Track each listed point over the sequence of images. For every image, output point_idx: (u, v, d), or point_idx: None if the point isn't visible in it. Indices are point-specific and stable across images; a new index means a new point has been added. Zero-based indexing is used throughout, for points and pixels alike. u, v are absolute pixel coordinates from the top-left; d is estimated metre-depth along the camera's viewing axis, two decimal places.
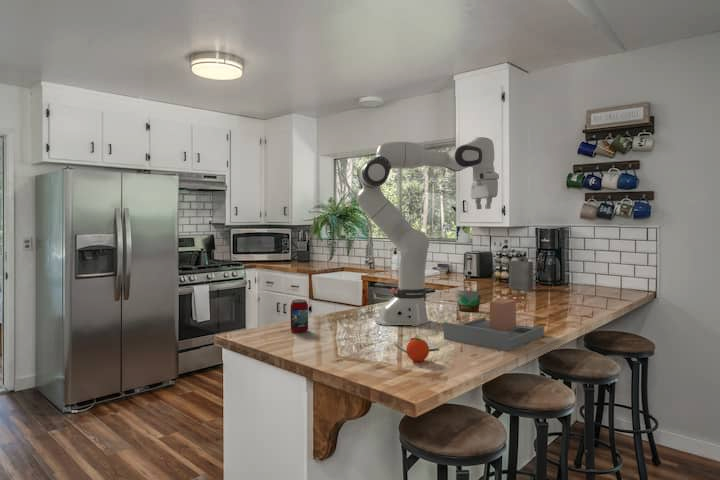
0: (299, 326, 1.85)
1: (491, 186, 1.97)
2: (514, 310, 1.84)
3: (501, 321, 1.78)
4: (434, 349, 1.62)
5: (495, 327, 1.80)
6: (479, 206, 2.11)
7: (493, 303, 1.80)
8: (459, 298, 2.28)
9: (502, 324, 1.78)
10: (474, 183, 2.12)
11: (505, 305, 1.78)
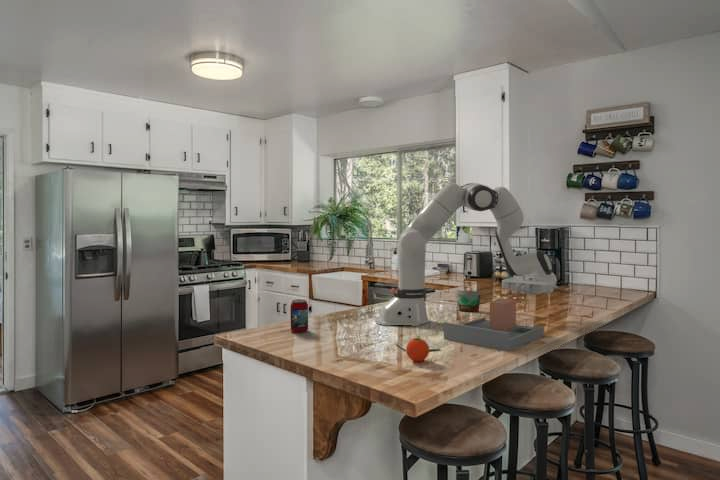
0: (299, 326, 1.85)
1: None
2: (514, 310, 1.84)
3: (501, 321, 1.78)
4: (436, 349, 1.61)
5: (495, 327, 1.80)
6: None
7: (493, 303, 1.80)
8: (459, 298, 2.28)
9: (502, 324, 1.78)
10: None
11: (505, 305, 1.78)
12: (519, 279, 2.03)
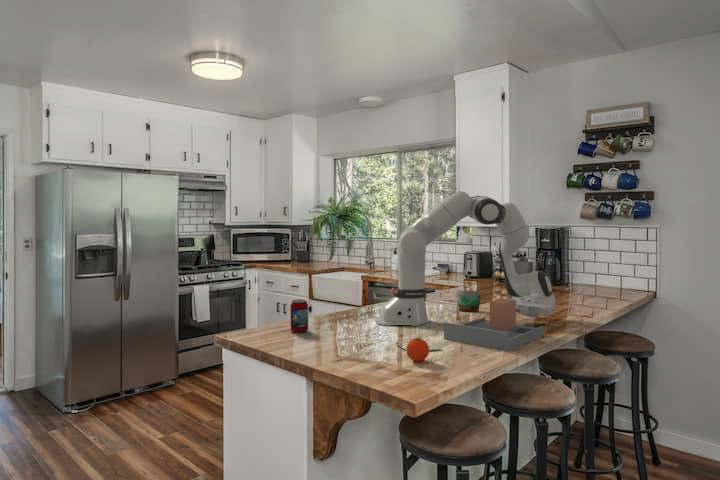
0: (299, 326, 1.85)
1: None
2: (514, 310, 1.84)
3: (501, 321, 1.78)
4: (437, 349, 1.61)
5: (495, 327, 1.80)
6: None
7: (493, 303, 1.80)
8: (459, 298, 2.28)
9: (502, 324, 1.78)
10: None
11: (505, 305, 1.78)
12: (518, 300, 2.02)
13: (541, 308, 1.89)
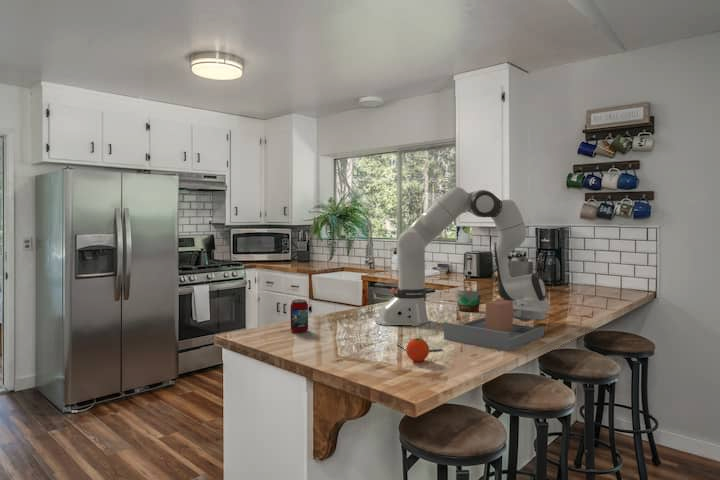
0: (299, 326, 1.85)
1: None
2: (511, 311, 1.82)
3: (497, 322, 1.76)
4: (438, 349, 1.61)
5: (491, 328, 1.78)
6: None
7: (489, 304, 1.78)
8: (459, 298, 2.28)
9: (498, 325, 1.76)
10: None
11: (501, 306, 1.76)
12: None
13: (534, 312, 1.82)
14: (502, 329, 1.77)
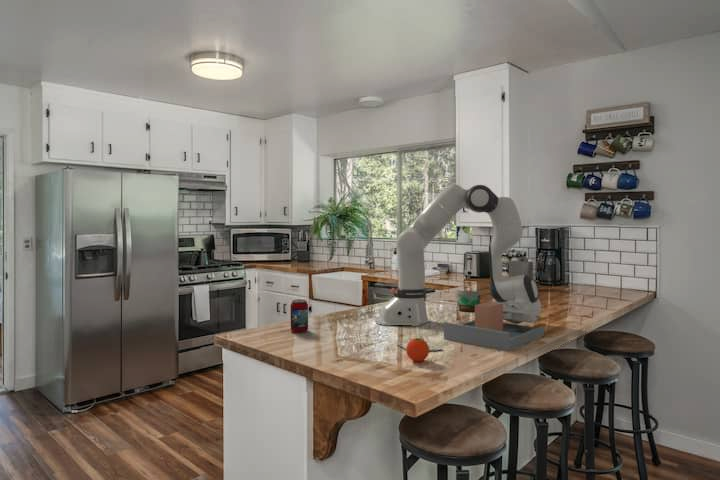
0: (299, 326, 1.85)
1: None
2: (501, 314, 1.77)
3: (486, 325, 1.72)
4: (437, 350, 1.61)
5: None
6: None
7: (478, 306, 1.74)
8: (459, 298, 2.28)
9: (487, 328, 1.71)
10: None
11: (490, 309, 1.72)
12: None
13: (525, 314, 1.77)
14: None
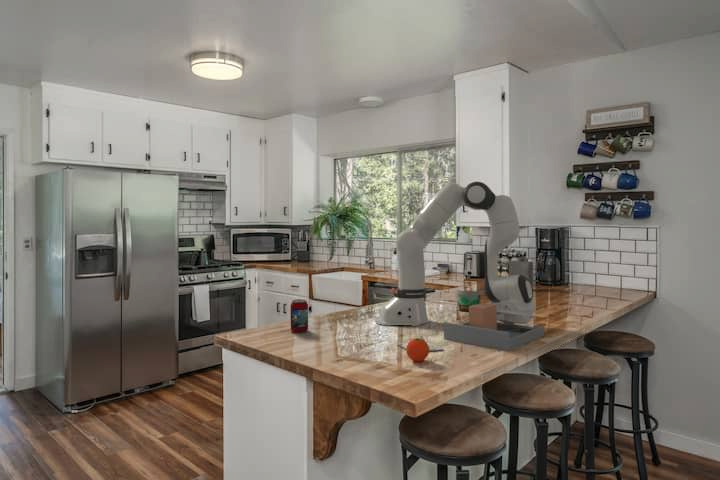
0: (299, 326, 1.85)
1: None
2: (494, 315, 1.75)
3: (480, 327, 1.69)
4: (439, 350, 1.60)
5: None
6: None
7: (472, 308, 1.71)
8: (459, 298, 2.28)
9: None
10: None
11: (485, 310, 1.69)
12: None
13: (517, 315, 1.75)
14: None
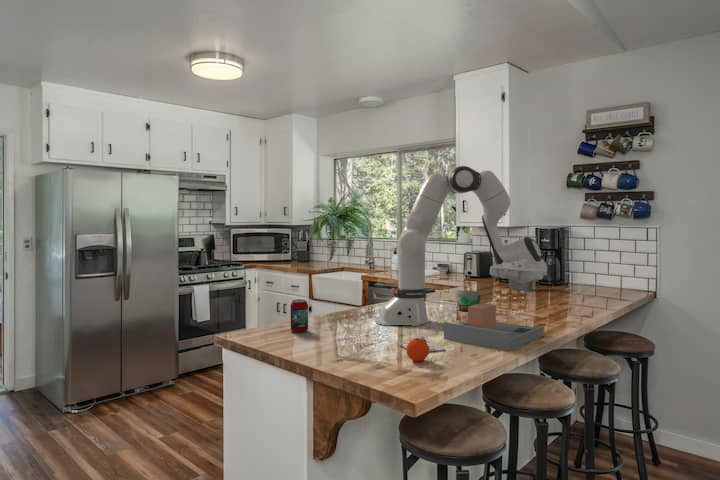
0: (299, 326, 1.85)
1: None
2: (494, 315, 1.74)
3: (479, 327, 1.69)
4: (441, 350, 1.60)
5: None
6: None
7: (471, 308, 1.71)
8: (459, 298, 2.28)
9: None
10: None
11: (484, 310, 1.69)
12: (508, 266, 1.95)
13: (531, 272, 1.83)
14: None
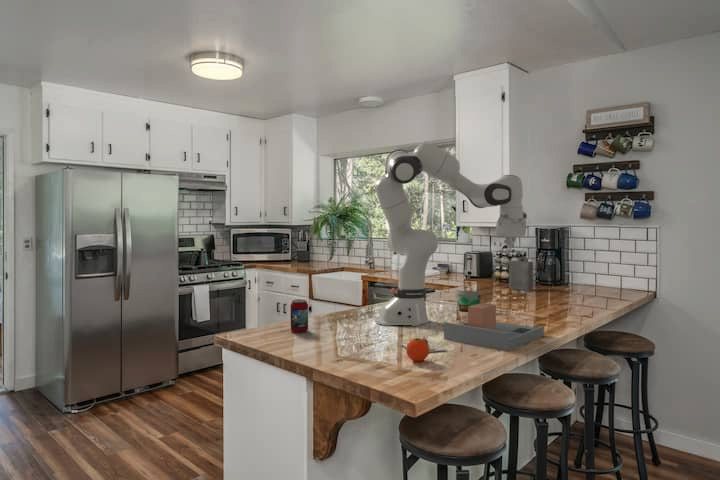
0: (299, 326, 1.85)
1: None
2: (494, 315, 1.74)
3: (479, 327, 1.69)
4: (442, 350, 1.60)
5: None
6: None
7: (471, 308, 1.71)
8: (459, 298, 2.28)
9: None
10: (508, 221, 1.96)
11: (484, 310, 1.69)
12: None
13: None
14: None
